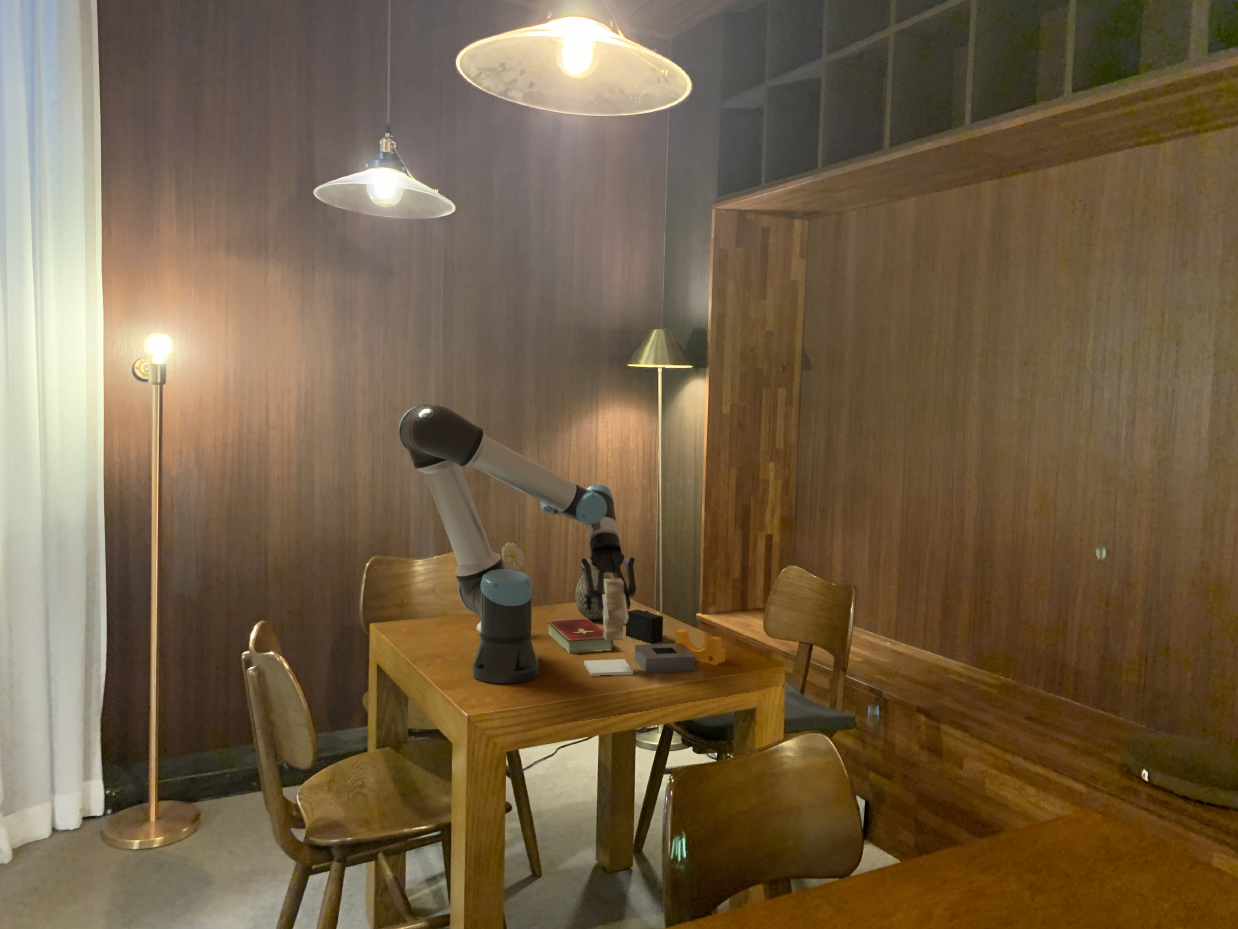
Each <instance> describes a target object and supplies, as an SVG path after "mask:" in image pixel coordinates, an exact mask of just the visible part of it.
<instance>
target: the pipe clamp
mask: <svg viewBox="0 0 1238 929" xmlns="http://www.w3.org/2000/svg"><path fill="white" fill-rule="evenodd" d="M722 641H723V637H720V636H713V637H710V638H709V639H708V644H707V645H706V647H702V648H698V647H696V646H695V645H694V644H693V642H692V641H691V638H690V636H689V630H687V629H683V628H681V629H677V630H675V644H676V643H682V644H683V645H684V646H685V647H686V648H687V649H688V650H689V651H690V652H691V653H692V654H693V655H694V656H695V661H696V660H698V661H697V662H700V661H701V663H704V662H707V663H706V664H708V663H710V664H709V665H713V666H716V665H719V663H720V664H722V663H724V662H726V649H725V648H723V647H722V646H723V644H722V643H723V642H722ZM721 662H722V663H721Z"/></svg>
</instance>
